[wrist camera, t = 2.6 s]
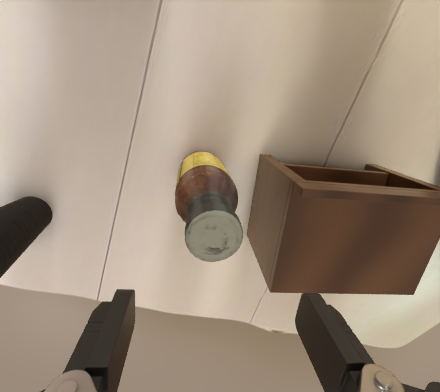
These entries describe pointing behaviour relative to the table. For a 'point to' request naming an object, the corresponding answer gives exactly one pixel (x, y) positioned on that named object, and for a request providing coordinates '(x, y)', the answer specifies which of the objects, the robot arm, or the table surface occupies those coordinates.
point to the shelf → (342, 228)
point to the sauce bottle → (208, 207)
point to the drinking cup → (20, 227)
